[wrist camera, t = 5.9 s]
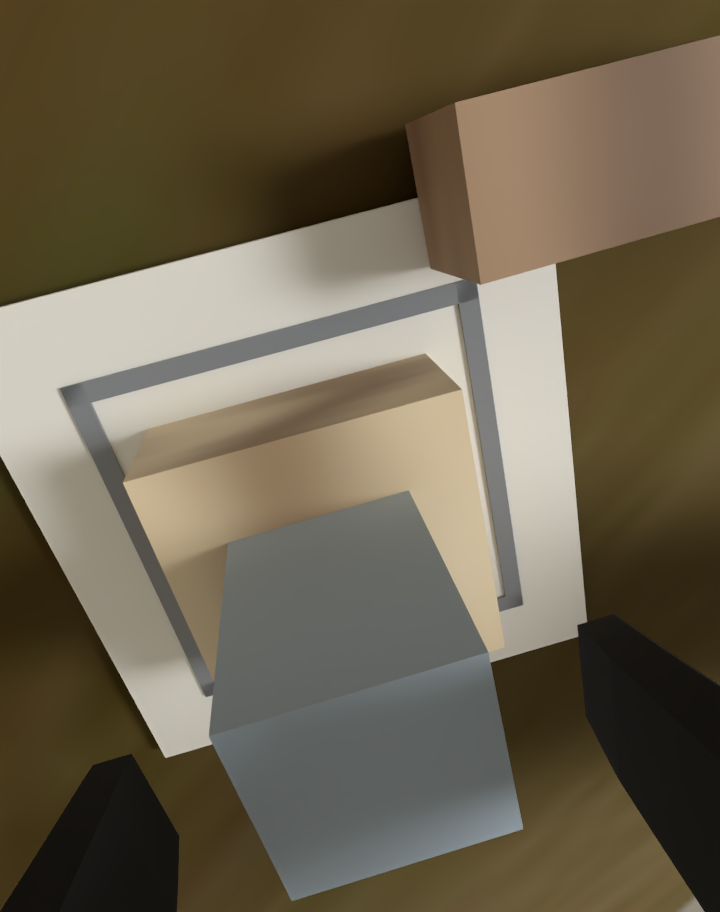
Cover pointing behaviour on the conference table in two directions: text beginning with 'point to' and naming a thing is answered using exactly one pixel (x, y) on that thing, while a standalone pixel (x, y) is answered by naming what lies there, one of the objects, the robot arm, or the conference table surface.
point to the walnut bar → (570, 163)
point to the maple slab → (313, 480)
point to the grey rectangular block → (356, 699)
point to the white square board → (267, 373)
